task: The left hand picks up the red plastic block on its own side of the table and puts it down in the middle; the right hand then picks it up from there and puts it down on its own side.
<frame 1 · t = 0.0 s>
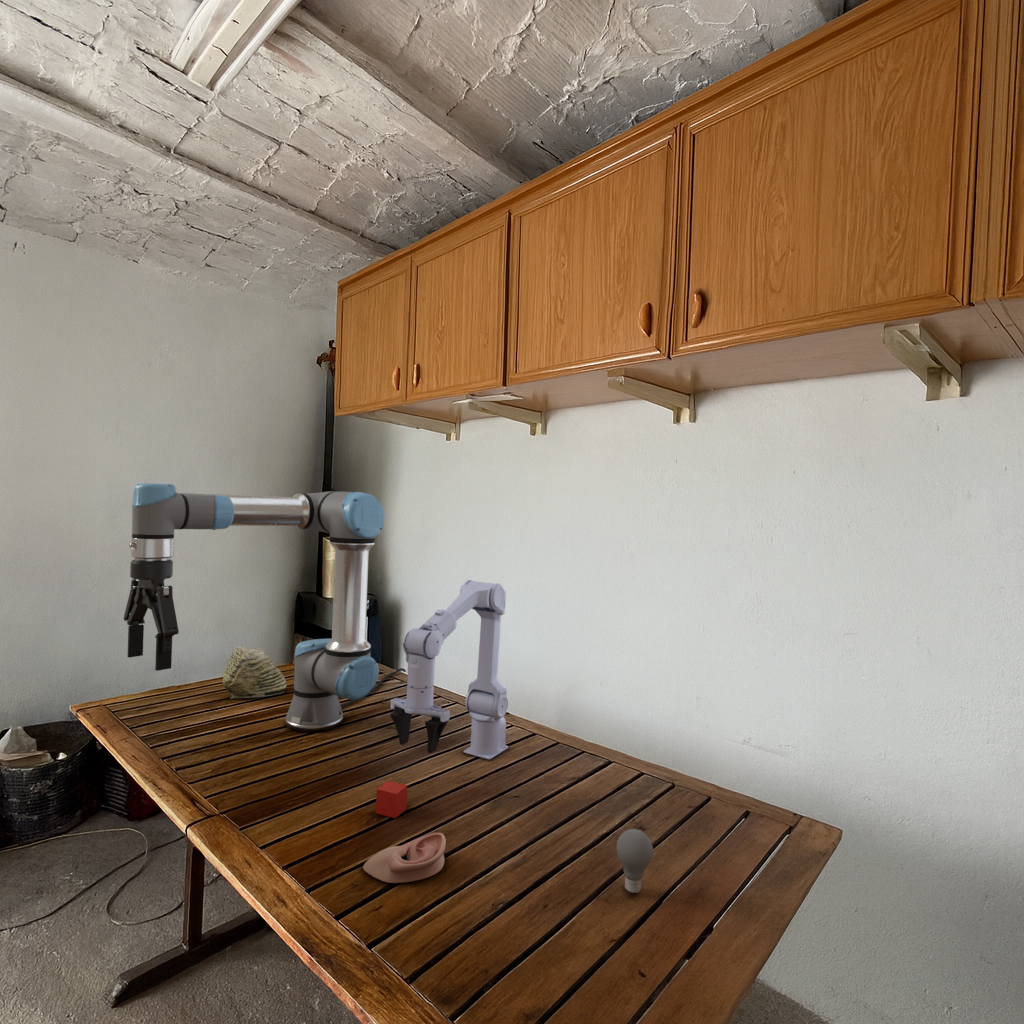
left hand: (148, 662, 129), 28 cm above the table, tool pointing down, fingers open, 13 cm apart
right hand: (417, 747, 137), 10 cm above the table, tool pointing down, fingers open, 7 cm apart
light bulb: (632, 891, 106), on the table
fossil: (254, 694, 198), on the table
anatomical model: (405, 865, 110), on the table
block: (391, 811, 129), on the table
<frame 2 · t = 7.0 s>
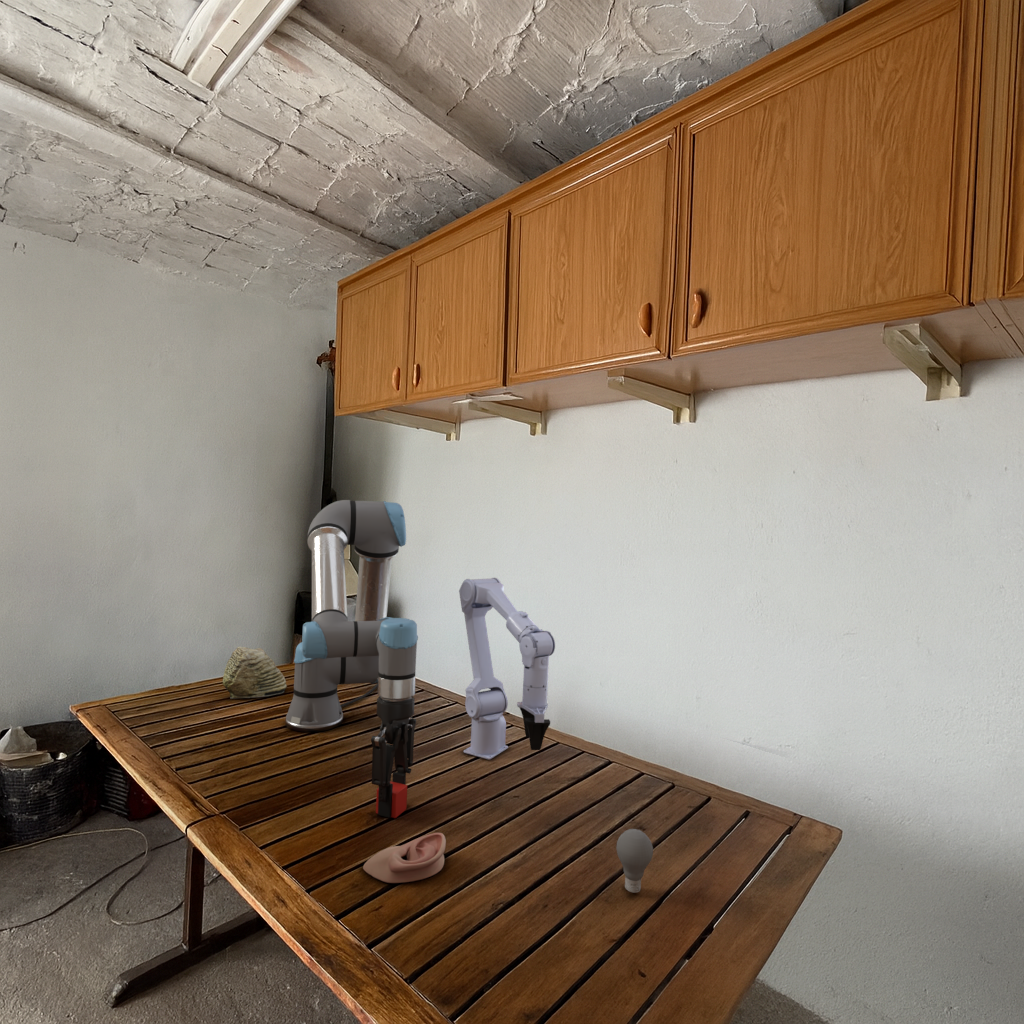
left hand: (391, 809, 129), 0 cm above the table, tool pointing down, fingers closed on block, 4 cm apart
right hand: (532, 742, 146), 9 cm above the table, tool pointing down, fingers open, 7 cm apart
block: (391, 811, 129), on the table, touching left hand
everything else where it was.
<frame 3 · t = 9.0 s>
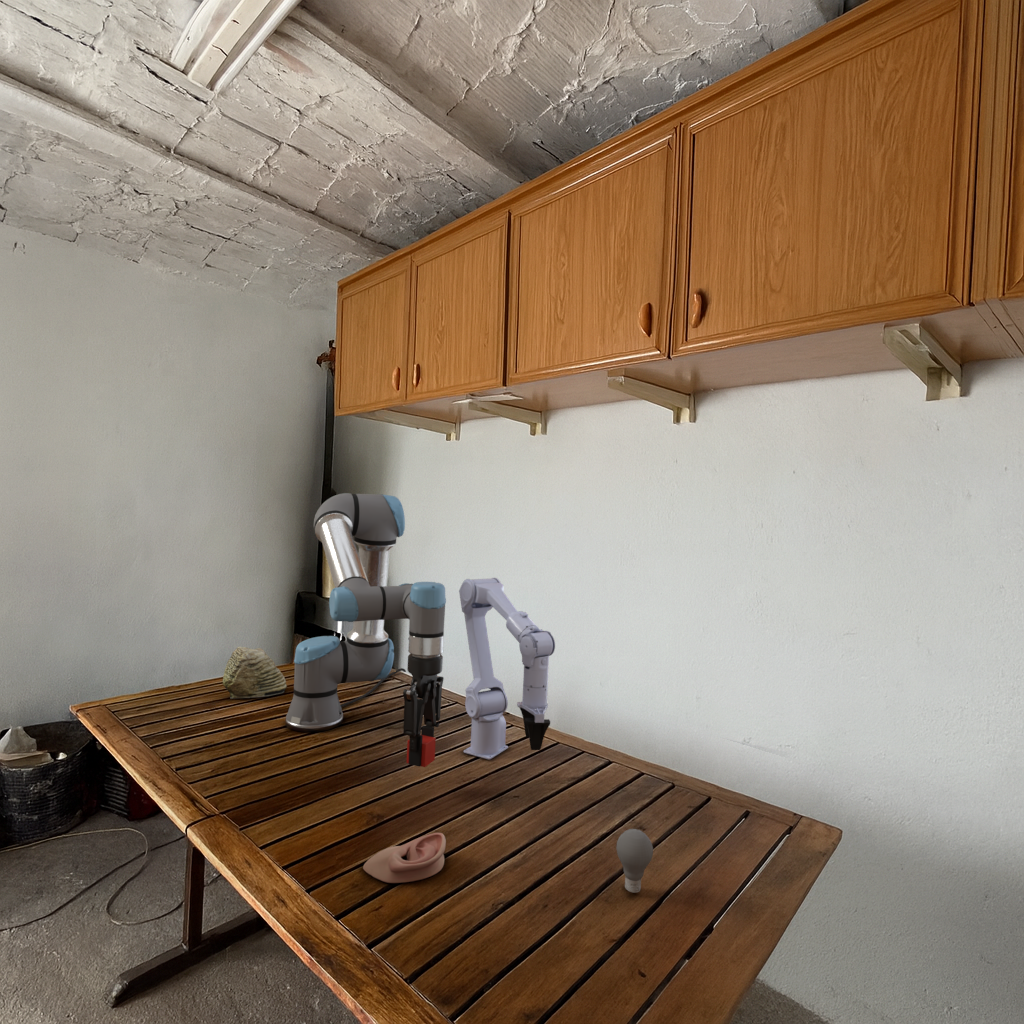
left hand: (420, 760, 138), 7 cm above the table, tool pointing down, fingers closed on block, 4 cm apart
right hand: (532, 742, 146), 9 cm above the table, tool pointing down, fingers open, 7 cm apart
block: (420, 761, 138), point 7 cm above the table, touching left hand
everything else where it was.
when the left hand's fingers open (1 cm above the table, at t = 10.9 s): block drops 1 cm, on the table.
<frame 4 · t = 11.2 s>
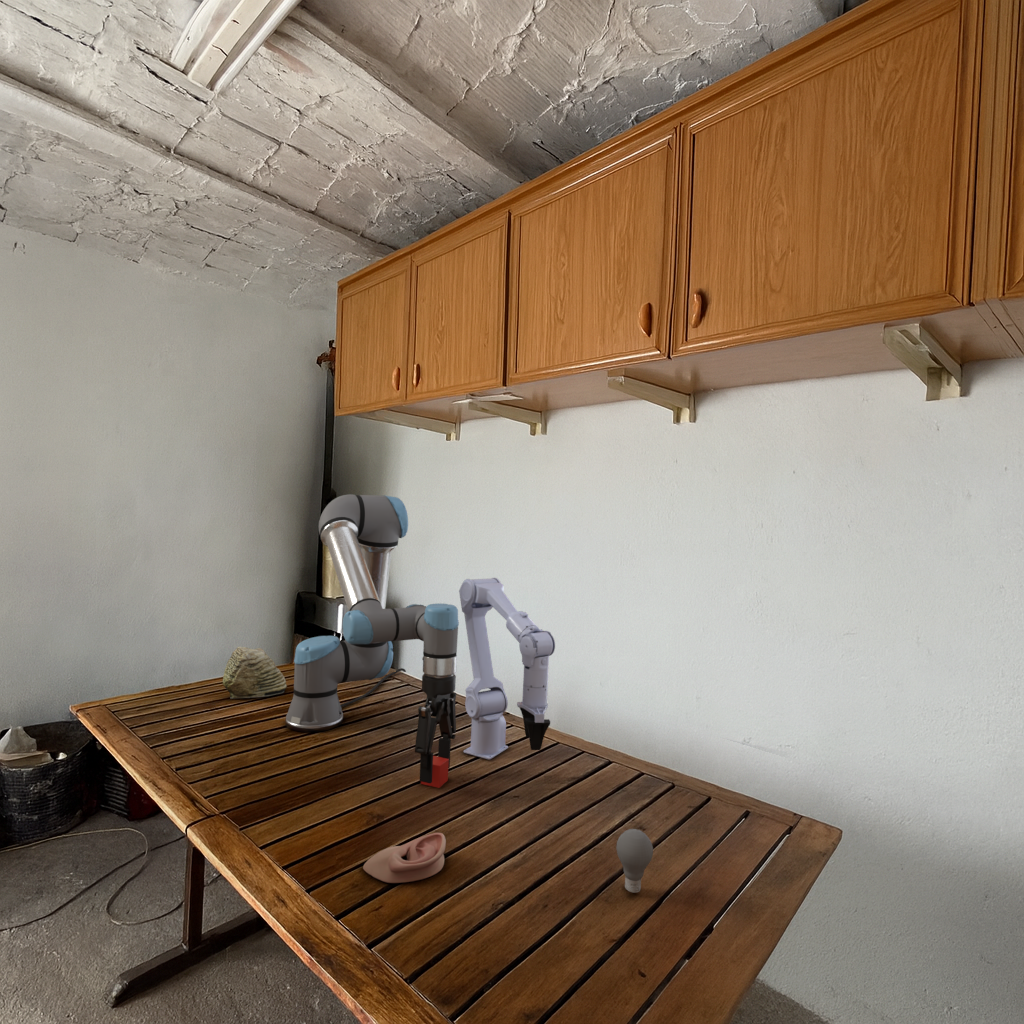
left hand: (434, 774, 143), 2 cm above the table, tool pointing down, fingers open, 8 cm apart
right hand: (532, 742, 146), 9 cm above the table, tool pointing down, fingers open, 7 cm apart
block: (434, 782, 143), on the table
everything else where it was.
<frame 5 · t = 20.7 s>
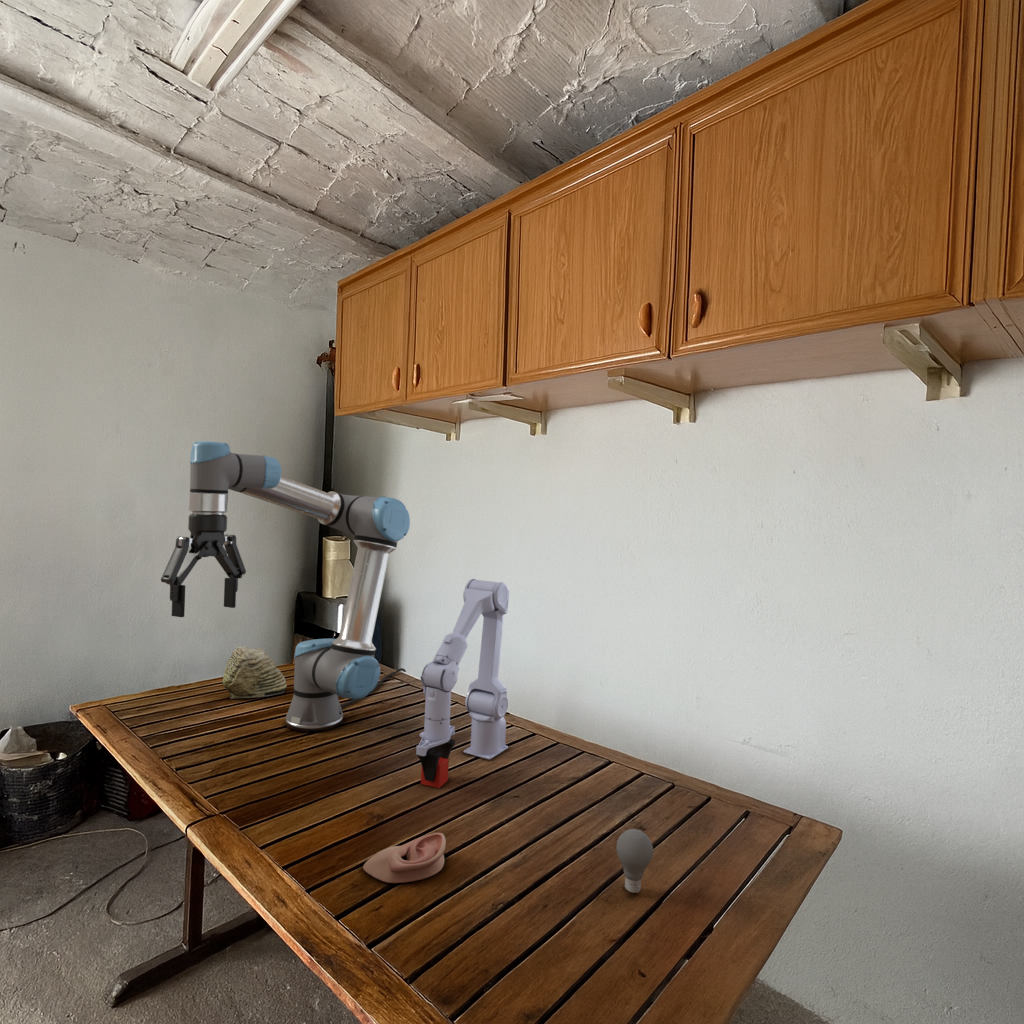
left hand: (204, 611, 137), 37 cm above the table, tool pointing down, fingers open, 13 cm apart
right hand: (434, 776, 143), 1 cm above the table, tool pointing down, fingers closed on block, 4 cm apart
block: (434, 782, 143), on the table, touching right hand
everything else where it was.
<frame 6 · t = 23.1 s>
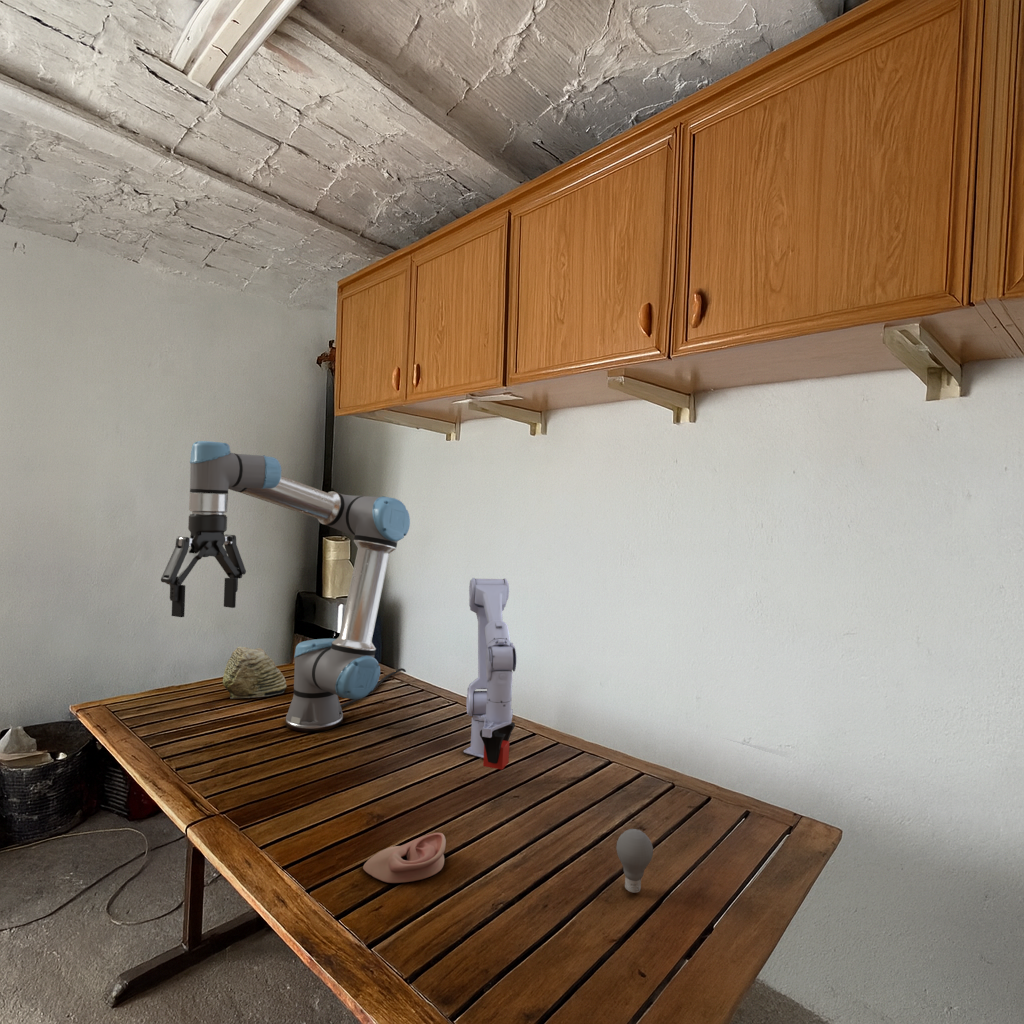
left hand: (204, 611, 137), 37 cm above the table, tool pointing down, fingers open, 13 cm apart
right hand: (496, 758, 144), 6 cm above the table, tool pointing down, fingers closed on block, 4 cm apart
block: (496, 764, 144), point 4 cm above the table, touching right hand
everything else where it was.
when the right hand's fingers open (3 cm above the table, at t = 25.7 s): block drops 1 cm, on the table.
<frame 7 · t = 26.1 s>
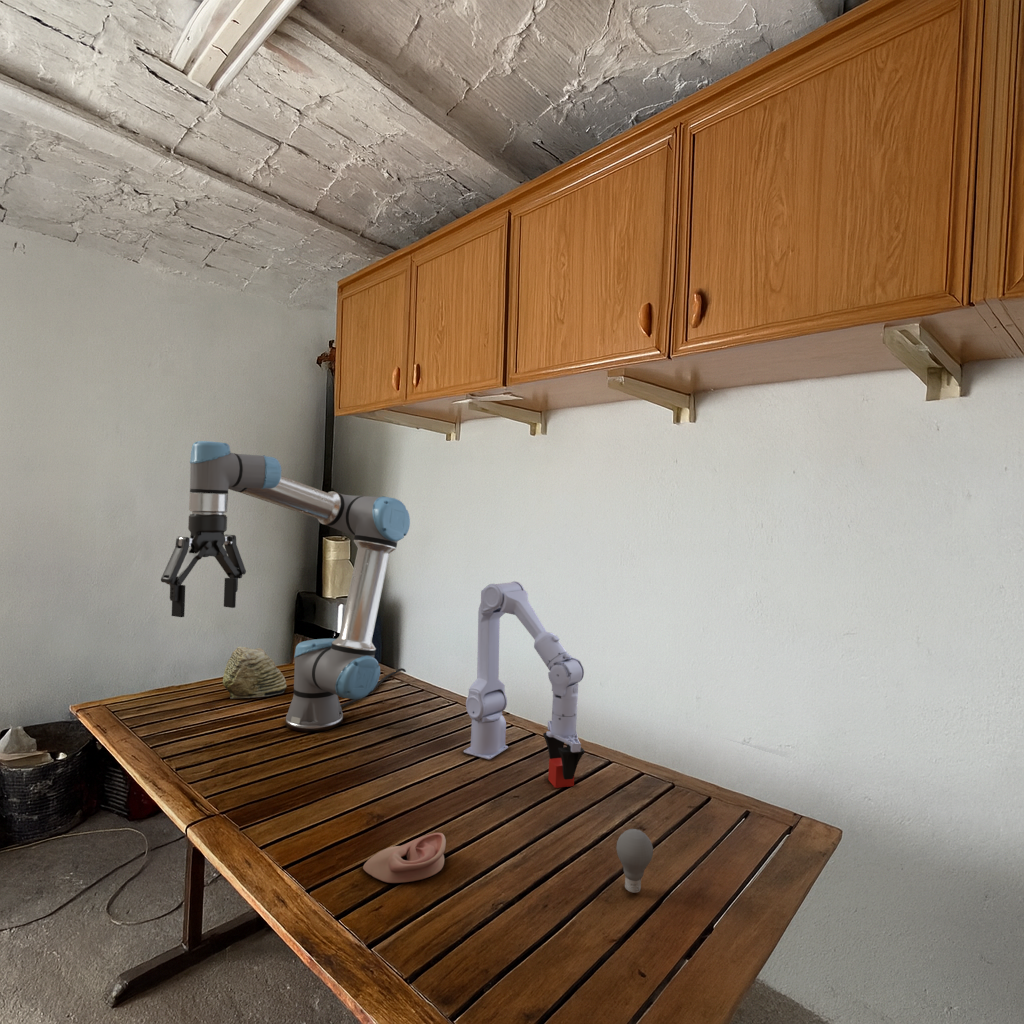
left hand: (204, 611, 137), 37 cm above the table, tool pointing down, fingers open, 13 cm apart
right hand: (561, 771, 145), 3 cm above the table, tool pointing down, fingers open, 7 cm apart
block: (560, 783, 145), on the table
everything else where it was.
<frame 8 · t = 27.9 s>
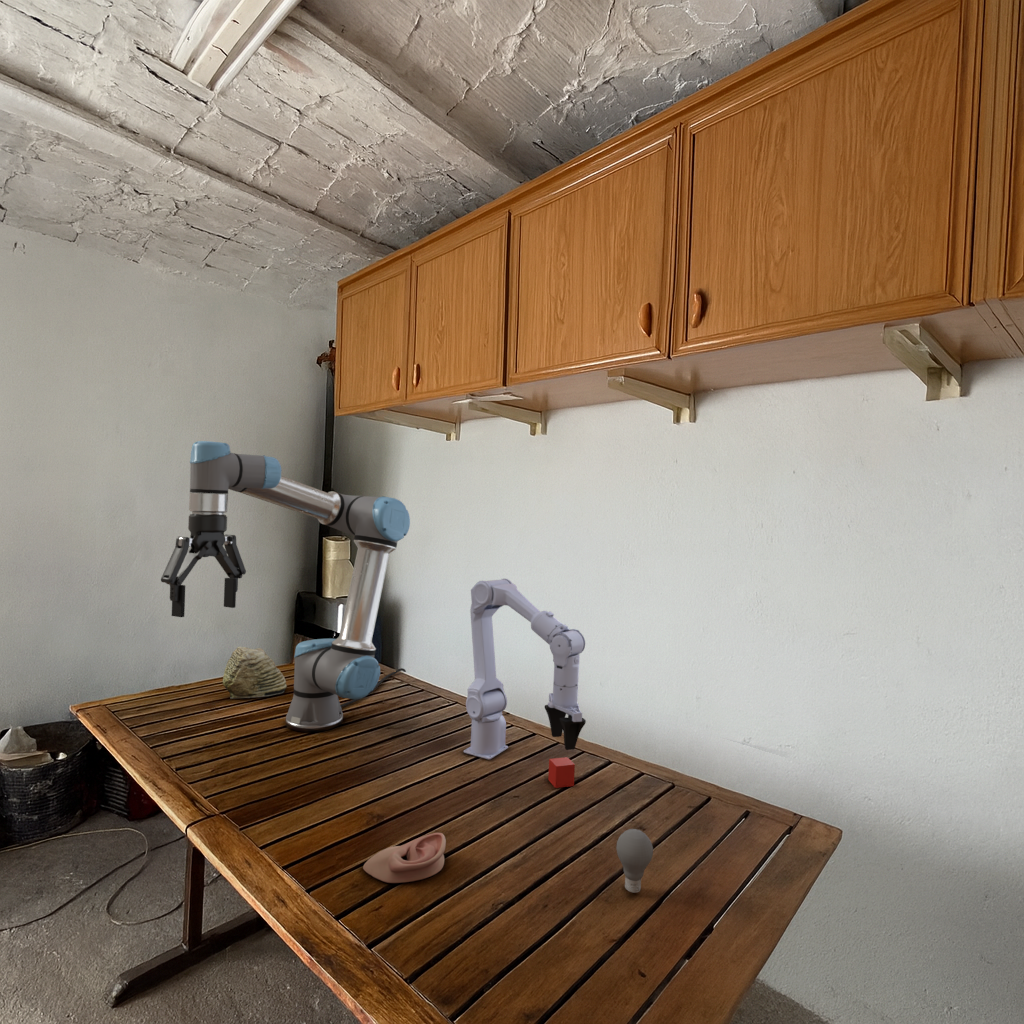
left hand: (204, 611, 137), 37 cm above the table, tool pointing down, fingers open, 13 cm apart
right hand: (563, 742, 145), 9 cm above the table, tool pointing down, fingers open, 7 cm apart
nothing on the table moved.
at the end: block inside the target area (0.1 cm from its centre), on the table; block tilted 0°; the two hands never held the block at the same time; the left hand is holding nothing; the right hand is holding nothing; block at rest at the end (0.0 cm/s) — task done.
